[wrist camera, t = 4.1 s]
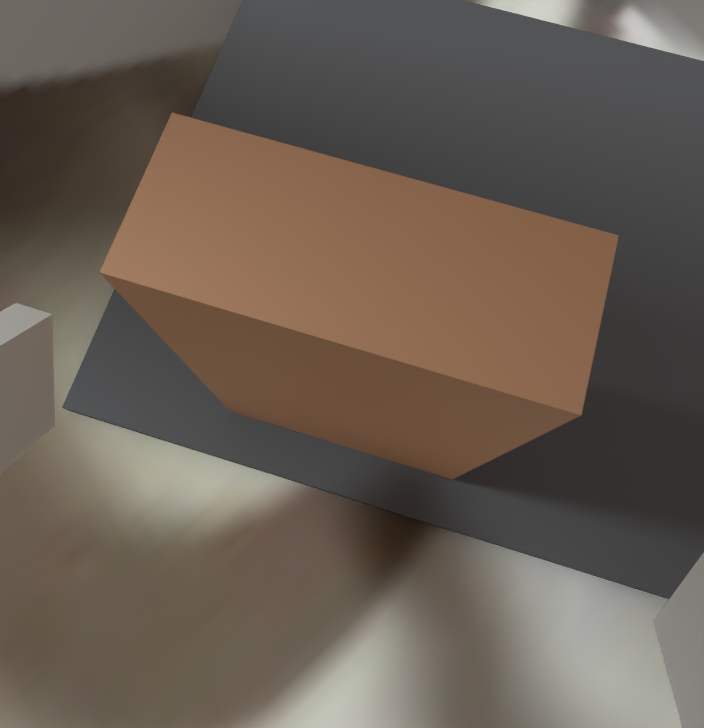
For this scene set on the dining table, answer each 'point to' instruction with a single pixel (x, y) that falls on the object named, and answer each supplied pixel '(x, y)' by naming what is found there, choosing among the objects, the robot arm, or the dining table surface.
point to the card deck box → (361, 298)
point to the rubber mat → (504, 185)
